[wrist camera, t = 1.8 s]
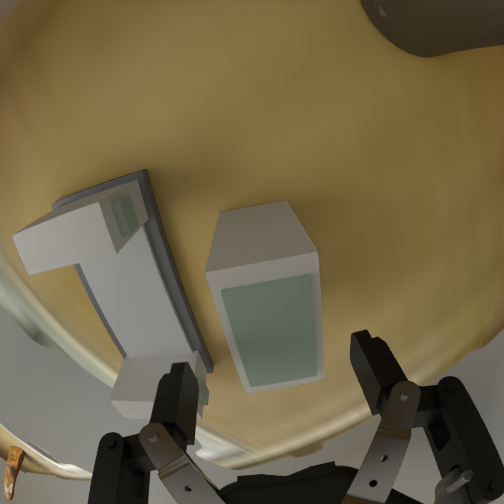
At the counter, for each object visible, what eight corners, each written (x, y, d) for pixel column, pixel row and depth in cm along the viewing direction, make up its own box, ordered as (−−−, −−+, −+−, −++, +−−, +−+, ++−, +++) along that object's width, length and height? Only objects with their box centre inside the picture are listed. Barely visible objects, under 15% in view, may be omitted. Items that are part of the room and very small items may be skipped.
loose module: (286, 199, 20) (319, 254, 12) (299, 300, 24) (324, 383, 15) (219, 212, 20) (204, 275, 12) (243, 310, 24) (245, 397, 16)
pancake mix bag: (32, 456, 56) (16, 505, 31) (19, 453, 59) (5, 495, 34) (19, 446, 53) (2, 496, 28) (8, 444, 57) (-8, 487, 31)
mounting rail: (147, 168, 18) (105, 189, 12) (214, 365, 27) (210, 421, 20) (57, 200, 19) (6, 230, 12) (138, 370, 27) (123, 419, 21)
